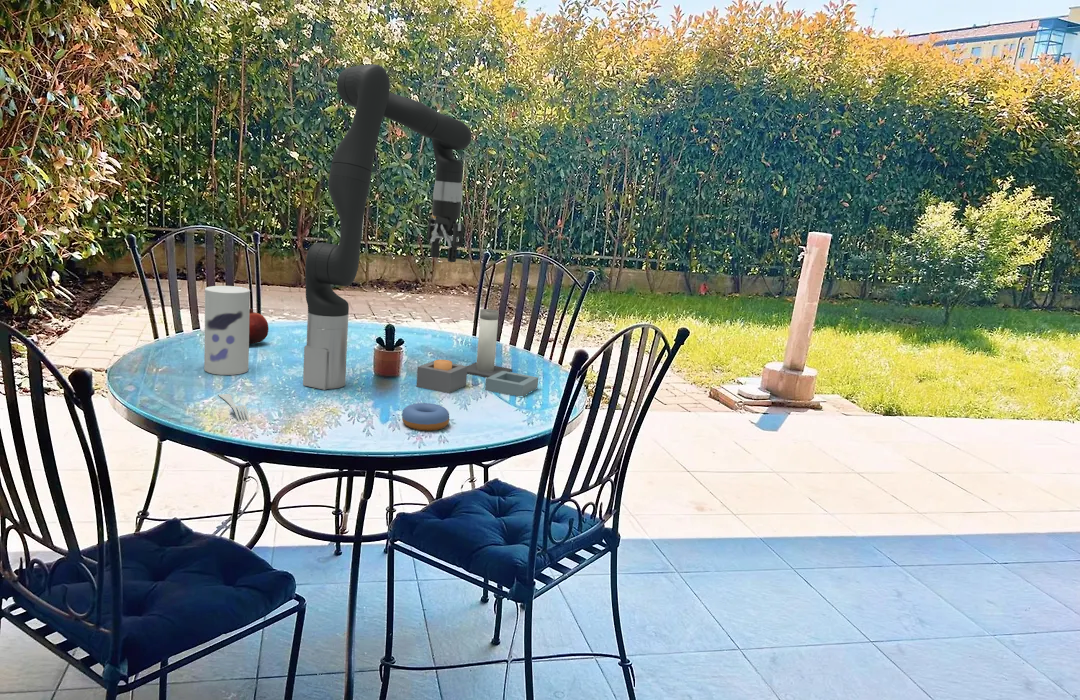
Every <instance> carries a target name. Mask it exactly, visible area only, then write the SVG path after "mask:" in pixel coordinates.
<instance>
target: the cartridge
mask: <svg viewBox="0 0 1080 700" xmlns="http://www.w3.org/2000/svg"><path fill="white" fill-rule="evenodd" d="M479 311H480V314H479V329H478V337H477V338H478V339H477V340H478V341H477V351H476V352H477V353H476V362H477V364H476V369H477V370H479V371H485V372H490V371H494V366H495V360H496V352H497V351H496V350H497V338H498V337H497V336H498V328H499V327H498V325H499V324H498V323H499V318H500V317H499V315H500V314H499V313H500V311H499V310H496V309H490V308H484V309H483V308H482V309H480V310H479Z"/></svg>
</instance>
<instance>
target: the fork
mask: <svg viewBox="0 0 1080 700" xmlns="http://www.w3.org/2000/svg"><path fill="white" fill-rule="evenodd" d="M218 395H219V397H220V399H223V400H224V401H225V402H226V403H228V404H229V406H230V407H231V408H232V409H233V411H234V414H235V416H236V418H237V421H238V422H239V423H240V422H246V421H247V422H250V419H249V414H248V410H247V406H246V405H236V404H235V403H234V400H233V396H232V395H231V393H227V394H226V393H224V394H223V393H221V394H218ZM240 419H241V421H240Z"/></svg>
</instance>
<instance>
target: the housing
mask: <svg viewBox="0 0 1080 700" xmlns="http://www.w3.org/2000/svg"><path fill="white" fill-rule="evenodd" d="M538 385H539V377H537V376H532V375H526V374H523V373H516V372H513V371H511V372H507V371H501V372H499V373H496V374H494V375H492V376H490V377H488V378H487V377H485V386H484V391H487V390H488V392H493V391H494V392H493V393H498V394H504V395H508V394H510V395H509V396H513V395H516V396H515V397H518V396H524V395H526V394H527V395H529V394H530V393H529V392H531V391H533V390H534V391H536V390H537V389H538ZM536 388H537V389H536ZM535 389H536V390H535ZM534 391H533V392H534ZM528 393H529V394H528ZM531 393H532V392H531ZM527 395H526V396H527ZM524 397H525V396H524Z"/></svg>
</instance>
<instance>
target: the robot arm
mask: <svg viewBox="0 0 1080 700" xmlns="http://www.w3.org/2000/svg"><path fill="white" fill-rule="evenodd" d="M336 90H337V93H338V95H339V97H340V99H342V101H343V102H344V103H345V104H347V105H348V106H351V107H354V108H355V113H354V117H353V120H352V123H351V125H350V127H349V128H348V130H347V132H346V134H345V135H344V137H343V139H341V141H340V142H339V145H338V146H337V148H336V150H335V152H334V154H333V156H332V158H331V159H332V160H331V164H330V170H329V176H328V181H327V185H328V191H329V194H330V197H331V200H332V203H333V205H334V207H335V210H336V212H337V215H338V219H339V223H340V231H339V234H340V235H339V242H338V244H334V243H328V242H327V243H326V242H315V243H313V244H312V245H311V246H310V247H309V249H308V251H307V253H306V258H305V265H304V266H305V267H304V270H305V271H304V272H305V276H304V277H305V300H306V303H307V321H306V323H307V325H306V326H307V327H306V345H305V346H304V347H303V348H304V349H303V351H304V352H303V376H302V379H303V380H302V385H303V386H305V387H310V388H313V389H319V390H324V391H326V390H330V389H339V388H342V387H344V386H346V379H347V377H346V375H347V355H348V354H347V353H348V352H347V351H348V333H349V313H350V312H349V310H350V305H349V301H348V300H346V299H344V298H343V297H341V296H339V295H338V294H337V293H336V292H335V291H334V290H333V288H332V285H333V286H341V287H348V286H350V285H351V284H353V283H354V281H355V279H356V277H357V274H358V269H359V263H360V256H361V245H362V243H361V242H362V234H363V233H362V231H363V224H364V217H365V210H366V204H367V199H368V196H369V195H368V193H369V189H370V185H371V179H372V173H373V166H374V165H373V164H374V159H375V154H376V149H377V144H378V138H379V136H380V135H379V134H380V129H381V126H382V122H383V119H384V118H386V119H389V120H391V121H394V122H395V123H398V124H400V125H402V126H404V127H405V128H408V129H410V130H411V131H413V132H415V133H417V134H419V135H421V136H422V137H424V138H429V139H431V143H432V150H433V154H434V155H433V156H434V160H435V181H434V187H433V197H432V208H431V209H432V210H431V211H432V212H431V213H432V214H431V215H432V216H433V217H435V218H431V217H430V218H428V225H427V233H426V234H427V235H426V240H427V241H429V242H430V244H431V248H430V250H431V251H430V257H431V258H435V259H436V258H440V248H441V241H442V239H443V238H444V240H445V241H446V242H447V245H448V247H447V248H448V249H447V262H448V263H456V261H457V253H458V248H461V247H463V244H464V243H463V242H464V224H463V223H460V222H459V223H457V219H460V218H461V214H462V213H461V211H462V198H463V197H462V196H463V187H462V185H463V162H462V161H461V160H458V159H456V158H455V157H454V151H453V150H456V151H461V150H465V149H466V148H467V147H469V145H470V144H471V141H472V133H471V129H470V128H469V126H468V125H467V124H465V123H464V122H462V121H461V120H458V119H456V118H453V117H451V116H447V115H444V114H443V113H440V112H438V111H436V110H435V109H433V108H431V107H430V106H428V105H427V104H425V103H422V102H420V101H419V100H415V99H412V98H408V97H405V96H402V95H398V94H395V93H393V92H391V81H390V77H389V74H388V73H387V71H386V69H385V68H384V67H383V66H381V65H380V64H373V63H371V64H370V63H369V64H362V65H361V64H360V65H354V66H348V67H347V68H345V69H343V70H342V71H341V72H340V73H339V74H338V76H337V79H336Z"/></svg>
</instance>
